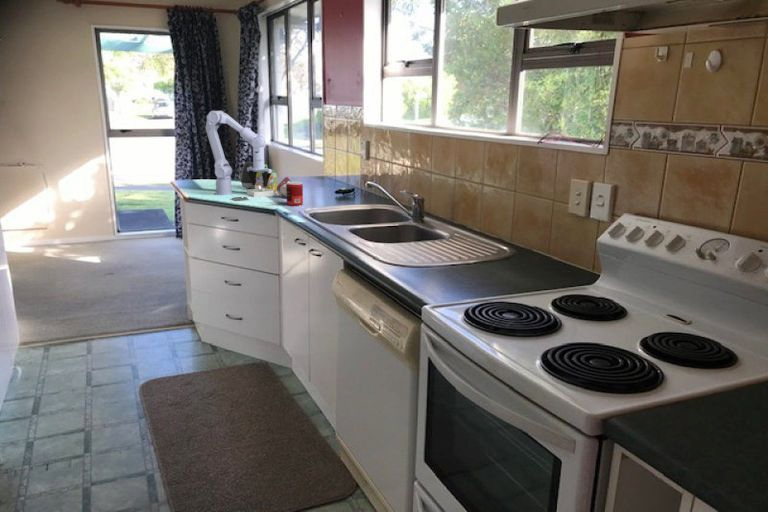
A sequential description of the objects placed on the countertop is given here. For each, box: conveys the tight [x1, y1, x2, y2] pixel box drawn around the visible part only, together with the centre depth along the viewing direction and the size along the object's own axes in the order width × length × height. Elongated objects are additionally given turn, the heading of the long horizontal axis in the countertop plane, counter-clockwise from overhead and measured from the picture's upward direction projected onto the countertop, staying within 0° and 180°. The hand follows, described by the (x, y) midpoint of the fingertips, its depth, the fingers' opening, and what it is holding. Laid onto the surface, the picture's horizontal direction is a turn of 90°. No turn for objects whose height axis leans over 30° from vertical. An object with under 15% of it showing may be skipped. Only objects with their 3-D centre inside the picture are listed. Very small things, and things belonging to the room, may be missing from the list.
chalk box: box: [256, 163, 279, 192], centre depth 325 cm, size 9×9×15 cm
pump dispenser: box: [240, 161, 255, 189], centre depth 336 cm, size 10×10×15 cm
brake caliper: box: [274, 176, 293, 199], centre depth 303 cm, size 11×11×12 cm
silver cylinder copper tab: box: [254, 182, 263, 192], centre depth 308 cm, size 4×4×6 cm
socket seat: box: [229, 196, 250, 202], centre depth 294 cm, size 8×8×1 cm
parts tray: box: [246, 188, 275, 198], centre depth 310 cm, size 11×11×3 cm
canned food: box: [286, 181, 304, 207], centre depth 282 cm, size 8×8×11 cm
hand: (259, 185), depth 309 cm, fingers open, 7 cm apart
